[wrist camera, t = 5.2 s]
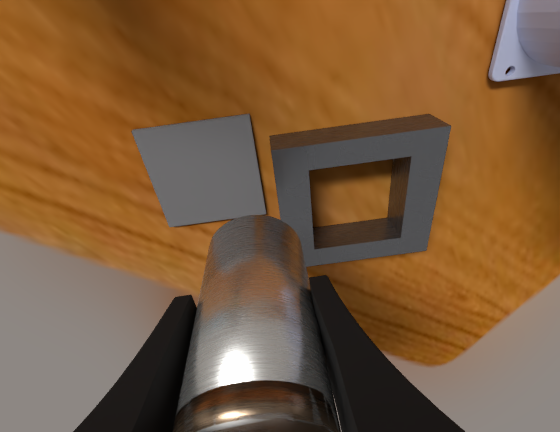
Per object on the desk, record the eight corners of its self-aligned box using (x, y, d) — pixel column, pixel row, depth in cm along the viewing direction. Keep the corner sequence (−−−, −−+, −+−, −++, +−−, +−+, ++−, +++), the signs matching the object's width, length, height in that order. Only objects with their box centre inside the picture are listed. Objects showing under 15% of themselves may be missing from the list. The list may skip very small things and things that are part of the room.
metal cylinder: (304, 213, 13) (355, 410, 7) (300, 284, 16) (334, 481, 9) (202, 216, 13) (147, 426, 6) (214, 288, 15) (184, 496, 9)
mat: (249, 113, 18) (249, 115, 18) (266, 211, 22) (266, 214, 21) (133, 129, 18) (131, 131, 18) (170, 224, 22) (169, 227, 22)
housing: (429, 113, 19) (451, 125, 16) (411, 230, 24) (426, 250, 21) (269, 135, 19) (271, 150, 17) (284, 247, 24) (287, 269, 22)
